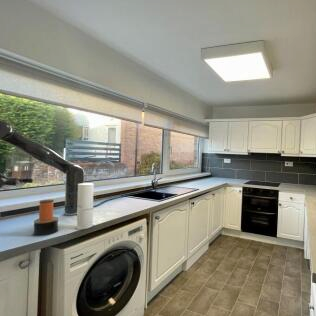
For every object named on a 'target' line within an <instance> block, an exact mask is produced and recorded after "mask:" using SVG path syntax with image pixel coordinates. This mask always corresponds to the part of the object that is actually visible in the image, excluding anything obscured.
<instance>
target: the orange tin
mask: <svg viewBox="0 0 316 316" xmlns="http://www.w3.org/2000/svg"><path fill="white" fill-rule="evenodd" d="M54 202H55V201H54V199H52V198H51V199H50V198H49V199H42V200H39V210H38V212H39V215H38V219H39V221H47V220H51V219H53V217H54Z"/></svg>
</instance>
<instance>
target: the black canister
mask: <svg viewBox="0 0 316 316" xmlns="http://www.w3.org/2000/svg"><path fill="white" fill-rule="evenodd" d="M58 230H59V217H58V216H53V219H51V220H47V221H39V218H37V219H34V220H33V236H36V237H43V236H49V235H53V234H55V233H57V232H58Z"/></svg>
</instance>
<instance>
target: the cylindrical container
mask: <svg viewBox="0 0 316 316" xmlns="http://www.w3.org/2000/svg"><path fill="white" fill-rule="evenodd" d="M94 186H95V184H94V183H93V182H83V183H82V184H78V203H77V214H76V229H77V230H87V229H90V228H92V227H93V222H94V221H93V219H94V218H93V217H94V207H93V206H94V192H95V187H94Z"/></svg>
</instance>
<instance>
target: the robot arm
mask: <svg viewBox="0 0 316 316" xmlns="http://www.w3.org/2000/svg"><path fill="white" fill-rule="evenodd" d="M0 141H2V142H5V143H7V144H10V145H12V146H13V147H15V148H16V149H18V150H19V151H21V152H22V153H24V154H25V155H26V156H29V157H31V158H32V159H34V160H36V161H37V162H40V163H42V164H44V165H47V166H50V167H52V168H55V169H57V170H58V171H60V172H61V173H63V174H64V175H65V191H64V192H65V193H64V196H65V197H64V209H63V210H64V213H63V214H64V215H65V216H75V215H76V216H77V203H78V184H82V183H85V182H84V180H85V172H84V171H85V170H84V169H83V168H82V167H81V166H80V165H78V164H76V163H73V162H71V161H68V160H66V159H64V158H63V157H62V156H61V155H59V154H58V153H57V152H56V151H54V150H52V149H51V148H49V147H47V146H46V145H44V144H42V143H39V142H38V141H35V140H33V139H31V138H28V137H26V136H24V135H22V134H21V133H19V132H18V131H16V130H15V129H14V128H12V126H11V124H10V123H8V122H7V121H4V120H0ZM33 182H34V181H33V178H28V176H27V177H16V176H15V177H11V176H8V177H7V176H6V175H4V174H2V173H0V189H3V187H6V186H17V185H19V184H31V183H33ZM130 195H132V192H129V194H125V195H121V196H116V197H112V198H108V199H105V200H103V201H101V202H100V203H98V204H95V205H93V208H96V207H99V206H100V205H102V204H103V203H105V202H107V201H111V200H115V199H119V198H124V197H128V196H130Z"/></svg>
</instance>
